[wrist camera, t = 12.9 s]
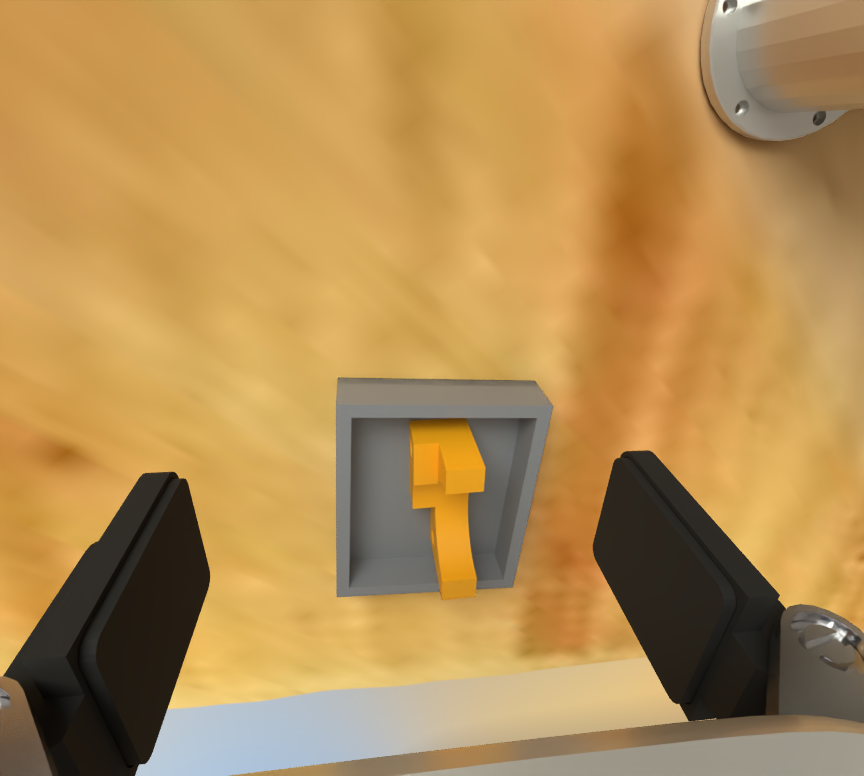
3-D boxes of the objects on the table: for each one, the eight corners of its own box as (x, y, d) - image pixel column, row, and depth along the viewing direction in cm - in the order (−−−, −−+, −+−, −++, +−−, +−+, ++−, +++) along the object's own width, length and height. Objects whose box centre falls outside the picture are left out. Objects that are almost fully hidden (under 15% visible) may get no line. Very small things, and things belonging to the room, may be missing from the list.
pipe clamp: (409, 420, 37) (419, 472, 31) (465, 417, 37) (485, 467, 32) (410, 539, 42) (418, 602, 37) (459, 535, 43) (475, 596, 37)
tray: (534, 380, 38) (553, 405, 34) (500, 552, 46) (512, 587, 42) (337, 377, 36) (335, 404, 32) (338, 559, 44) (336, 597, 40)
